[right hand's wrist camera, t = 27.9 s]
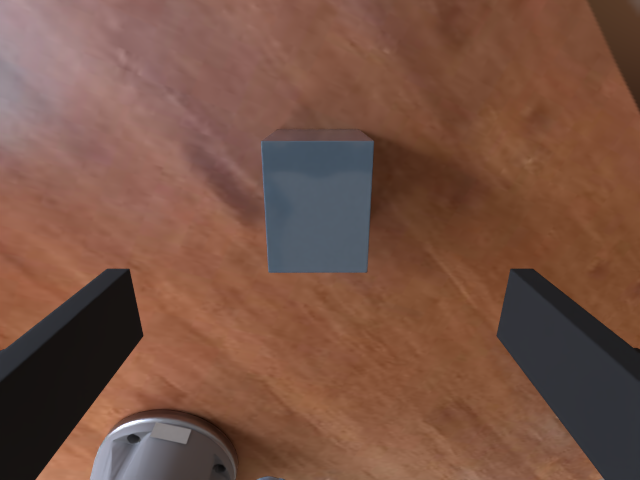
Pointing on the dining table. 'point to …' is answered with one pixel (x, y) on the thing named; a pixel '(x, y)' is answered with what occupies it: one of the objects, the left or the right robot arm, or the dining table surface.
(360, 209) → the brick
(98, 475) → the left robot arm
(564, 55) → the dining table surface
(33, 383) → the right robot arm
